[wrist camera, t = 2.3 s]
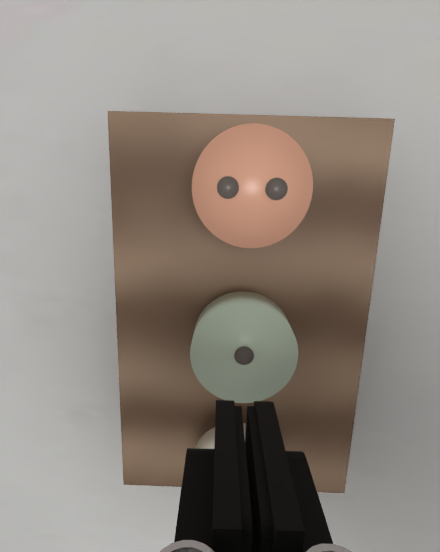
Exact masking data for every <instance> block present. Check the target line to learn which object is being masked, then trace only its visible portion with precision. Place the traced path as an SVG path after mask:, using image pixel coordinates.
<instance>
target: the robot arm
mask: <svg viewBox="0 0 440 552" xmlns="http://www.w3.org/2000/svg"><path fill="white" fill-rule="evenodd" d="M160 552H351V551H349V550H348V549H346V548H344V547H341V546H338V545H335V544H333V542H332V539H331V535H330V532H329V529H328V526H327V523H326V519H325V516H324V513H323V510H322V507H321V503H320V500H319V497H318V494H317V491H316V487H315V484H314V481H313V478H312V475H311V471H310V468H309V465H308V462H307V459H306V456H305V454H304V452H303V451H285V447H284V443H283V439H282V435H281V431H280V426H279V422H278V418H277V414H276V410H275V406H274V402H271V401H254V406H247V413H246V431H245V437H244V427H243V416H242V406H235V403H234V400H216V413H215V448H214V449H198V448H187V451H186V458H185V466H184V473H183V481H182V488H181V496H180V504H179V511H178V519H177V526H176V534H175V541H174V543H172V544H170V545H168V546H167V547H165V548H164V549H162V550H161V551H160Z"/></svg>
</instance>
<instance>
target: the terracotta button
mask: <svg viewBox="0 0 440 552" xmlns="http://www.w3.org/2000/svg"><path fill="white" fill-rule="evenodd" d="M312 193H313V176H312V171H311V166H310V164H309V161H308V158H307V156H306V155H305V153H304V151H303V150H302V148H301V147H300V145H299V144H298V143H297V142H296V141H295V140H294V139H293V138H292V137H291V136H289V135H288V134H287V133H285V132H283V131H282V130H280V129H278V128H275V127H273V126H269V125H265V124H257V123H250V124H242V125H238V126H235V127H232V128H229V129H227V130H225V131H223V132H222V133H220V134H219V135H217V136H216V137H215V138H214V139H213V140H212V141H210V143H209V144H208V145H207V146H206V147H205V148H204V150H203V151H202V153H201V154H200V156H199V158H198V160H197V163H196V165H195V168H194V172H193V177H192V197H193V203H194V206H195V209H196V211H197V214H198V216H199V218H200V219H201V221H202V222H203V224H204V225H205V226H206V228H207V229H208V230H209V231H210V232H211V233H212V234H213V235H214V236H216V237H217V238H219V239H220V240H222V241H224V242H226V243H228V244H231V245H233V246H237V247H241V248H260V247H266V246H269V245H272V244H274V243H277V242H279V241H281V240H282V239H284V238H285V237H287V236H288V235H289V234H291V233H292V232H293V231H294V230H295V229H296V228H297V227H298V225H299V224H300V223H301V221H302V220H303V218H304V217H305V215H306V213H307V211H308V208H309V206H310V202H311V199H312Z"/></svg>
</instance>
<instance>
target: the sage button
mask: <svg viewBox="0 0 440 552" xmlns="http://www.w3.org/2000/svg"><path fill="white" fill-rule="evenodd" d="M190 360H191V365H192V368H193V371H194V373H195V375H196V377H197V379H198V380H199V382H200V383H201V384H202V385H203V386H204V388H205V389H207V390H208V391H209V392H210V393H212V394H213V395H215V396H217V397H219V398H221V399H223V400H234V403H253V402H254V401H262V400H264V399H267V398H269V397H271V396H273V395H275V394H276V393H277V392H279V391H280V390H281V389H282V388H283V387H284V386H285V385H286V384H287V383H288V382H289V380H290V379H291V377H292V376H293V374H294V371H295V369H296V366H297V361H298V345H297V341H296V337H295V335H294V333H293V331H292V329H291V326H290V324H289V322H288V320H287V318H286V316H285V314H284V313H283V311H282V310H281V309H280V307H279V306H278V305H277V304H275V303H274V302H273V301H272V300H270V299H269V298H267V297H265V296H263V295H260V294H257V293H253V292H246V291H240V292H232V293H228V294H225V295H223V296H220V297H218V298H217V299H215V300H213V301H212V302H211V303H210V304H208V305H207V306H206V308H205V309H204V310H203V311H202V313H201V314H200V316H199V318H198V320H197V322H196V325H195V330H194V334H193V338H192V343H191V348H190Z"/></svg>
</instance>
